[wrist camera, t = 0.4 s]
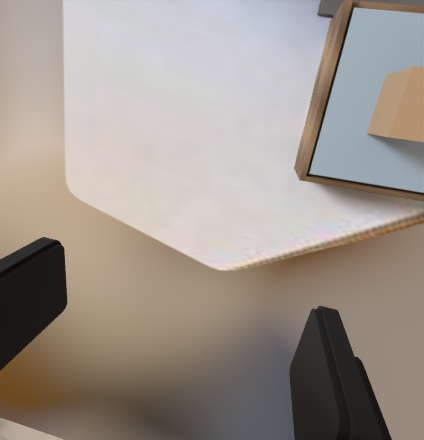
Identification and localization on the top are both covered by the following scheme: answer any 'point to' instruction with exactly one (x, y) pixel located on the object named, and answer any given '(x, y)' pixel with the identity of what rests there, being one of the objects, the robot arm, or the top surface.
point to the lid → (376, 103)
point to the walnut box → (321, 97)
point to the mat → (332, 3)
